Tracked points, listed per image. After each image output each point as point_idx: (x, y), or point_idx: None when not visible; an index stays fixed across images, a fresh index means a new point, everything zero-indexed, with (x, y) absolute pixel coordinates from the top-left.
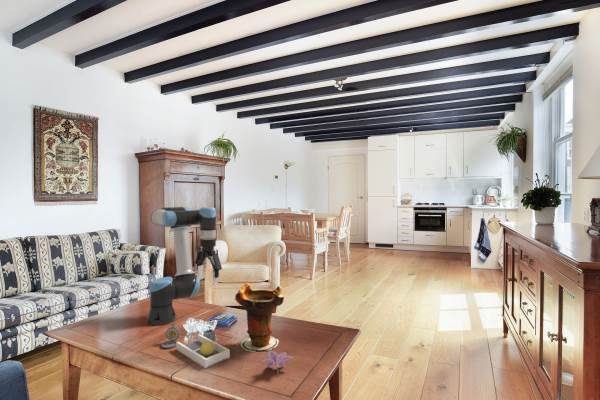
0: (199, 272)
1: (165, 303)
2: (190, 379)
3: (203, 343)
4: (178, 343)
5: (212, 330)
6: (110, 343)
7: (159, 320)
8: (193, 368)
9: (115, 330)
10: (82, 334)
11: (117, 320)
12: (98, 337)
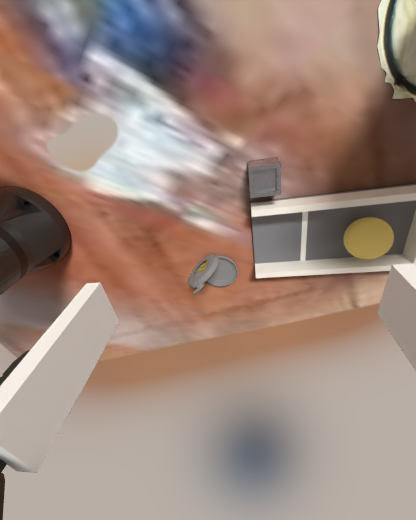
0: (83, 371)
1: (11, 257)
2: None
3: (367, 256)
4: (266, 277)
5: (264, 167)
6: (134, 335)
7: (61, 250)
8: (376, 274)
9: None
10: None
11: (4, 299)
12: None
